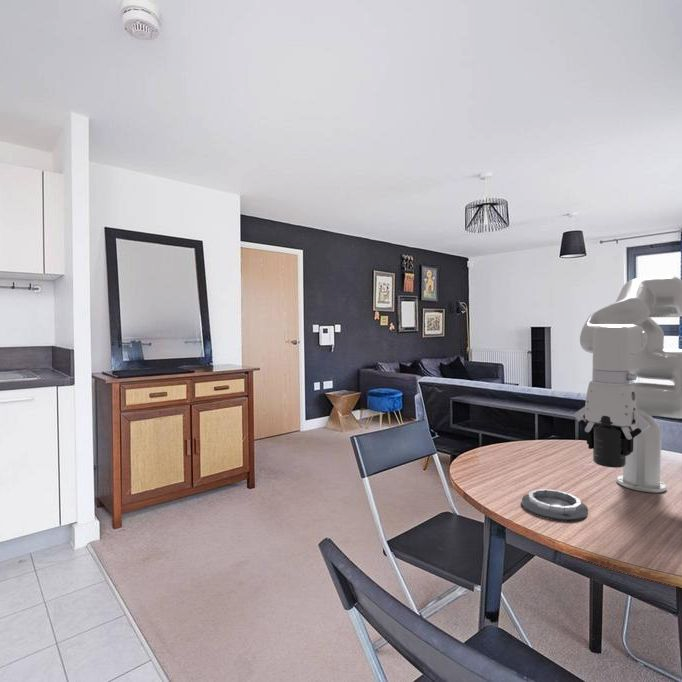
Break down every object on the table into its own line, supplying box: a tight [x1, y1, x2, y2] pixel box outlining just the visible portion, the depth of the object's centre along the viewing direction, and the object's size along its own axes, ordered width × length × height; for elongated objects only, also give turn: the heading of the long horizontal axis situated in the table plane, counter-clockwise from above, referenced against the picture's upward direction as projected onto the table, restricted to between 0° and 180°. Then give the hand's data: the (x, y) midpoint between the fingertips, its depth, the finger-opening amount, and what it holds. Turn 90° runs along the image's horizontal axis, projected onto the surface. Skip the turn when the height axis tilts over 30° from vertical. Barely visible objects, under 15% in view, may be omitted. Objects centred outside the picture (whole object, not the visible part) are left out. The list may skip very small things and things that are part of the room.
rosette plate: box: [521, 488, 589, 522], centre depth 119 cm, size 16×16×3 cm
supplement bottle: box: [592, 416, 626, 469], centre depth 105 cm, size 7×7×12 cm
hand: (609, 450), depth 105 cm, fingers closed on supplement bottle, 6 cm apart
